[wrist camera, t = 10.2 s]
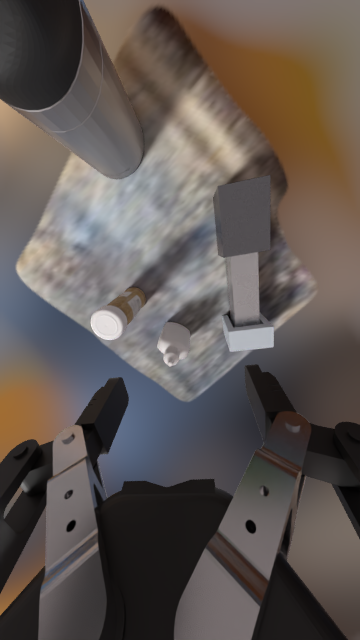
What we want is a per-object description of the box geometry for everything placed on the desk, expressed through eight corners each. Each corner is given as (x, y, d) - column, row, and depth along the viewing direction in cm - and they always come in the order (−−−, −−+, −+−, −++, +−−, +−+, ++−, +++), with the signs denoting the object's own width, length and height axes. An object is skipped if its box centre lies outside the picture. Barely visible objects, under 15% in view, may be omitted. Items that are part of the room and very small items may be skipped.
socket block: (222, 315, 38) (228, 332, 31) (258, 310, 37) (273, 326, 30) (223, 332, 39) (230, 351, 33) (259, 328, 39) (273, 347, 32)
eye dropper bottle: (176, 345, 41) (170, 383, 30) (160, 326, 40) (147, 358, 29) (193, 335, 40) (192, 370, 29) (176, 314, 39) (169, 343, 28)
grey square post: (224, 240, 33) (229, 239, 28) (248, 235, 32) (257, 234, 28) (231, 325, 38) (236, 337, 34) (251, 323, 38) (259, 334, 33)
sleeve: (213, 197, 31) (217, 186, 25) (254, 189, 30) (270, 175, 24) (218, 254, 34) (223, 257, 28) (255, 248, 33) (270, 249, 27)
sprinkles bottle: (126, 283, 37) (92, 304, 25) (149, 291, 37) (126, 316, 25) (121, 305, 39) (86, 334, 26) (143, 312, 39) (119, 345, 27)
